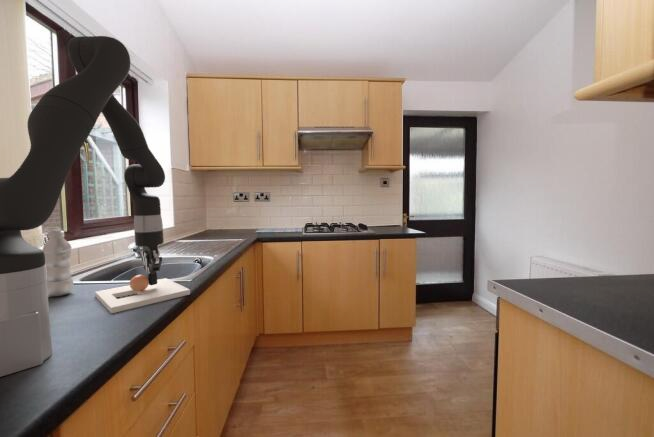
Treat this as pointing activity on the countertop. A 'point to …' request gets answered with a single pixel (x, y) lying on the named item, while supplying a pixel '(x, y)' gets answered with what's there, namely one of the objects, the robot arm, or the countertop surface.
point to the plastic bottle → (58, 264)
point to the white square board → (140, 295)
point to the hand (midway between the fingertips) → (152, 284)
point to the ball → (139, 283)
